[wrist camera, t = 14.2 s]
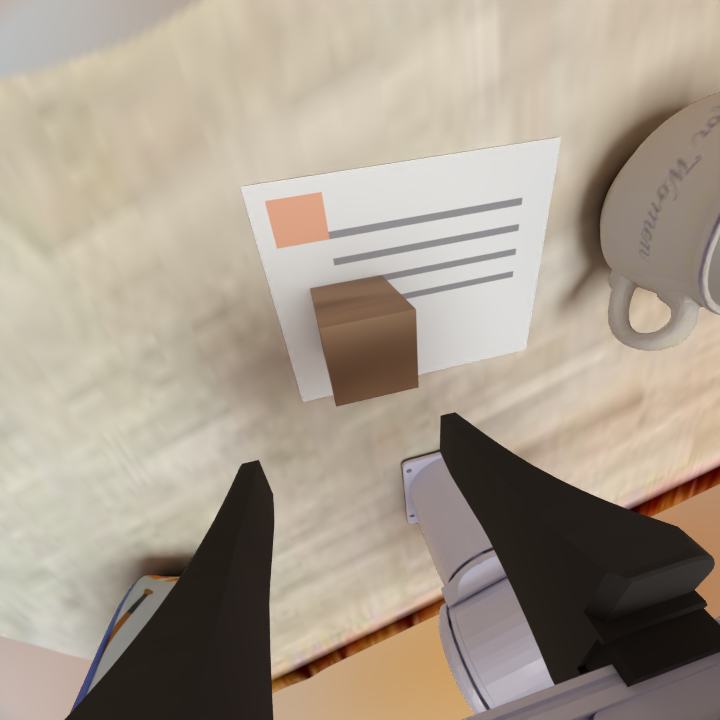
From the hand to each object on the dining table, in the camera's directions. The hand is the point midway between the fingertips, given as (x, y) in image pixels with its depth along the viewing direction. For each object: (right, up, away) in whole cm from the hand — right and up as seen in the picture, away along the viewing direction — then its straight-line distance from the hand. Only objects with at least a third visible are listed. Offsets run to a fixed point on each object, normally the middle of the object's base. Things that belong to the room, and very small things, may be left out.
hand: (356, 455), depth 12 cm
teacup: (+18, +13, +9) cm, 25 cm away
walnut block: (0, +7, +8) cm, 10 cm away
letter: (+4, +9, +8) cm, 12 cm away
